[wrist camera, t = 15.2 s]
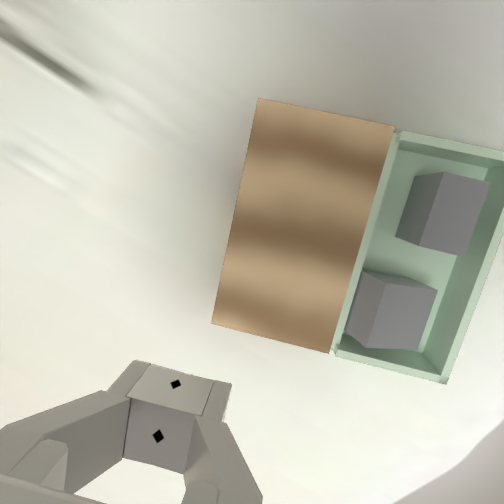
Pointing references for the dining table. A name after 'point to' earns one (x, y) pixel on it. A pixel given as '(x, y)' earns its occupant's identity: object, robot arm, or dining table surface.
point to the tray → (427, 253)
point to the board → (299, 222)
